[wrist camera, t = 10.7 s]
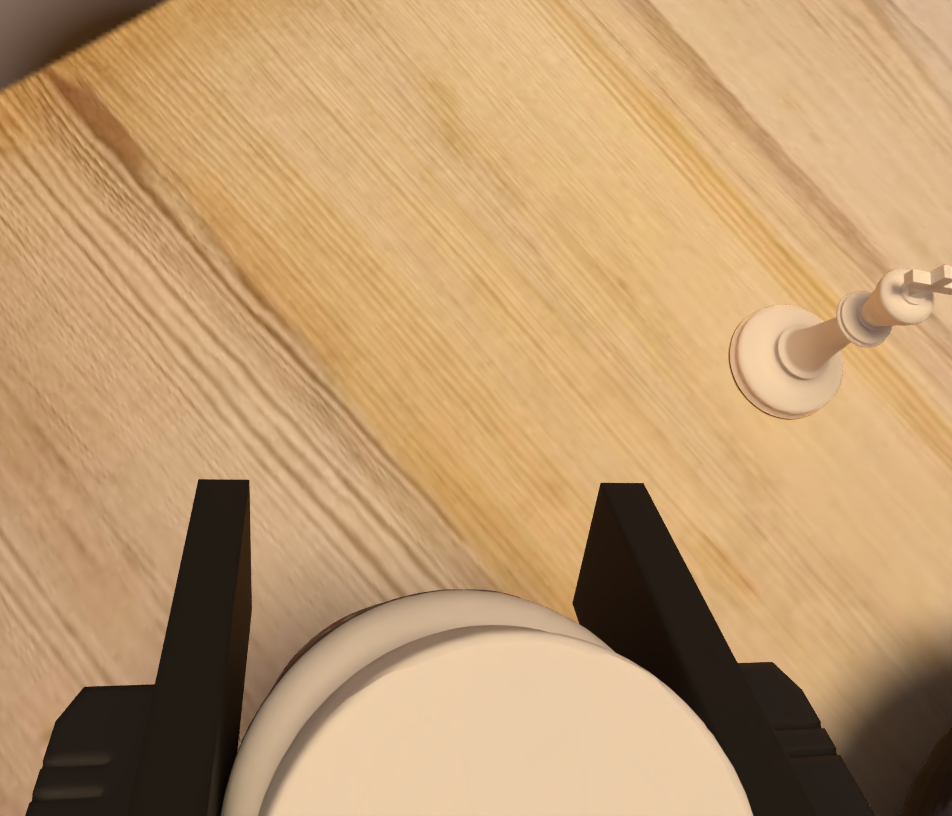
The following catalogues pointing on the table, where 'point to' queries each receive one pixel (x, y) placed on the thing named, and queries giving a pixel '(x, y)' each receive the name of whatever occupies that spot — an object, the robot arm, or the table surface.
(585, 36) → the table surface
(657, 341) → the table surface
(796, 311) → the chess piece
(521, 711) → the pill bottle
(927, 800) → the decorative sphere
